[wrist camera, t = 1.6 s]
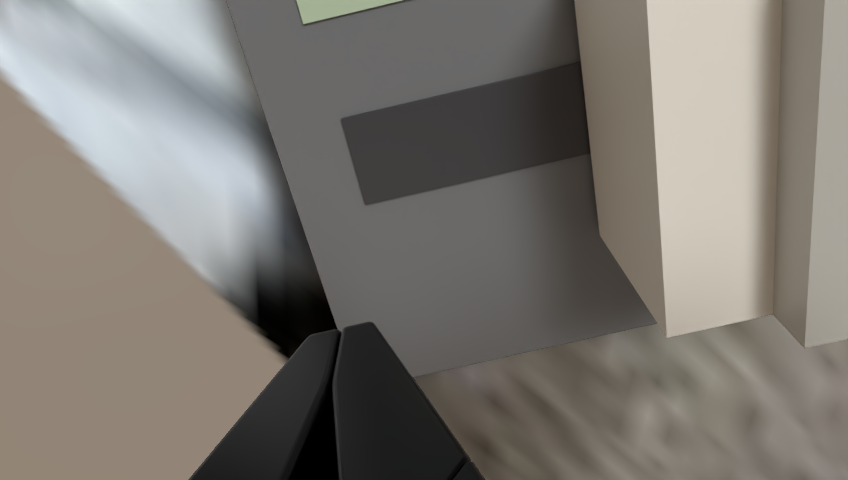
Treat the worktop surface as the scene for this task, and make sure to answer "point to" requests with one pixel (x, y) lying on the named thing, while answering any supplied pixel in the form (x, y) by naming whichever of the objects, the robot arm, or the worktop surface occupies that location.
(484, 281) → the switch panel
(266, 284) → the worktop surface
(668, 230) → the switch handle
